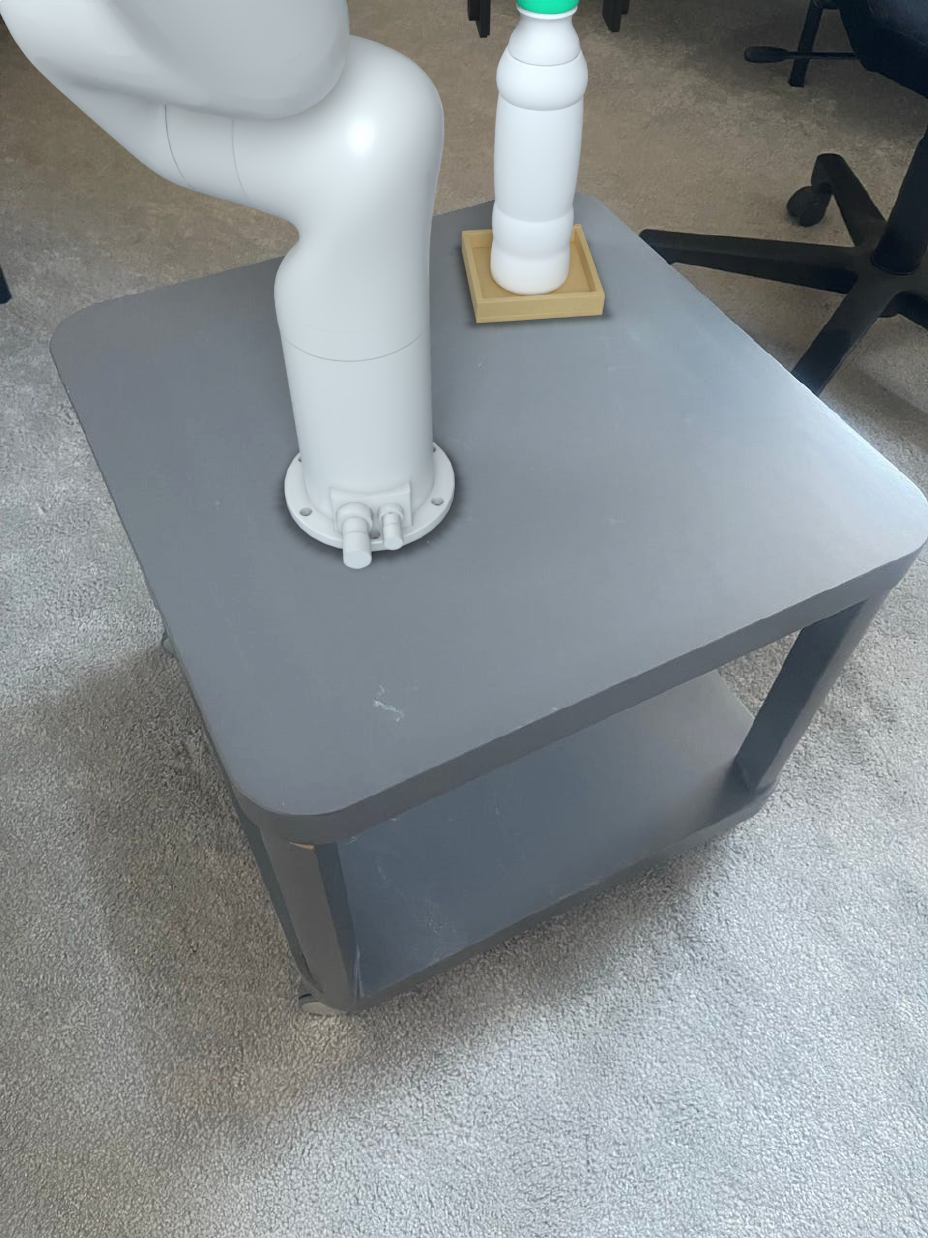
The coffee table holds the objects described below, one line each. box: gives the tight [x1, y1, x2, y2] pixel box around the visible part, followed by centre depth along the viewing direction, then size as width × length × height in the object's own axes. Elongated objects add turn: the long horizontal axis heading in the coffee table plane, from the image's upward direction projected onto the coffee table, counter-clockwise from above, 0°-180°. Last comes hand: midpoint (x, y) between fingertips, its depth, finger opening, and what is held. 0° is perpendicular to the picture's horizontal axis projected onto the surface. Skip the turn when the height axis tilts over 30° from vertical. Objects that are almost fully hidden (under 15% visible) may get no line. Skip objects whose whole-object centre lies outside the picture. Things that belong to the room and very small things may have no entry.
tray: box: [461, 223, 606, 324], centre depth 91 cm, size 11×11×2 cm
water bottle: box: [490, 0, 589, 296], centre depth 81 cm, size 7×7×25 cm
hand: (546, 27), depth 75 cm, fingers open, 9 cm apart
